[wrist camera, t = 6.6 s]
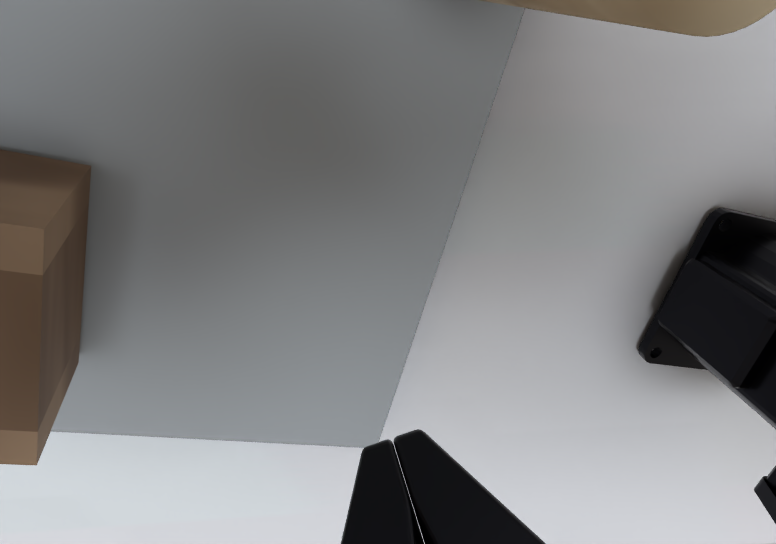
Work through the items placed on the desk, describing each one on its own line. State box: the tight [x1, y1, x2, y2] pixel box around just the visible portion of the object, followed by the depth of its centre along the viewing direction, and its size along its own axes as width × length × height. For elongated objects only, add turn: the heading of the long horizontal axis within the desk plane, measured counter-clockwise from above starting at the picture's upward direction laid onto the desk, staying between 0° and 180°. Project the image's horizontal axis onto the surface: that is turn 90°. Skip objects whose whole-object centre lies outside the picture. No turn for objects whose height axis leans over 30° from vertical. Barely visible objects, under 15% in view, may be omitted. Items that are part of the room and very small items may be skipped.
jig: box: [0, 0, 525, 448], centre depth 14 cm, size 18×18×4 cm
